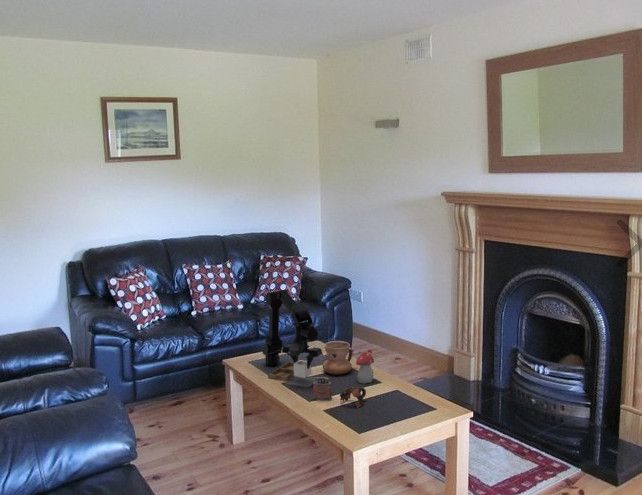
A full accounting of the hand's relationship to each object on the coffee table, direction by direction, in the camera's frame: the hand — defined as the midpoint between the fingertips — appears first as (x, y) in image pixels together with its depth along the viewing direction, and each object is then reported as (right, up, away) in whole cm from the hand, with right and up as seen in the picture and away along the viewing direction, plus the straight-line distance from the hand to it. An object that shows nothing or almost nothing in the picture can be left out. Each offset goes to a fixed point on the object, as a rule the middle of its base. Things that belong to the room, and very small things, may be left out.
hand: (302, 367), depth 285 cm
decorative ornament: (+30, -6, -1) cm, 30 cm away
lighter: (+10, -10, -20) cm, 25 cm away
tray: (-7, -5, +13) cm, 15 cm away
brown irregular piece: (+23, -10, -26) cm, 36 cm away
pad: (0, -7, +1) cm, 7 cm away
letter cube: (0, -3, 0) cm, 3 cm away
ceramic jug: (+18, -5, +14) cm, 23 cm away
